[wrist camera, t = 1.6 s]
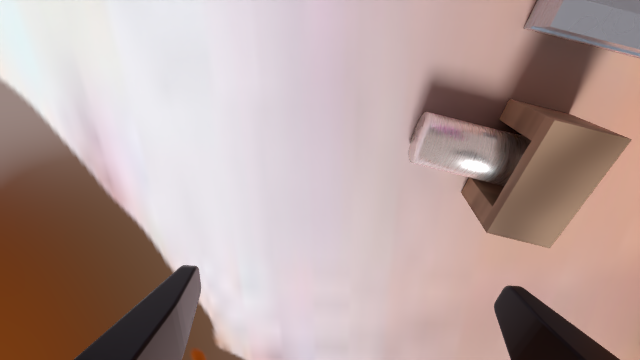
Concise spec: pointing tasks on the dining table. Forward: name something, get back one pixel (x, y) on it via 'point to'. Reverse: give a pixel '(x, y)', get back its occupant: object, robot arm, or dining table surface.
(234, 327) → the dining table surface
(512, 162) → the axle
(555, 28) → the cradle
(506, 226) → the brown boxy piece
